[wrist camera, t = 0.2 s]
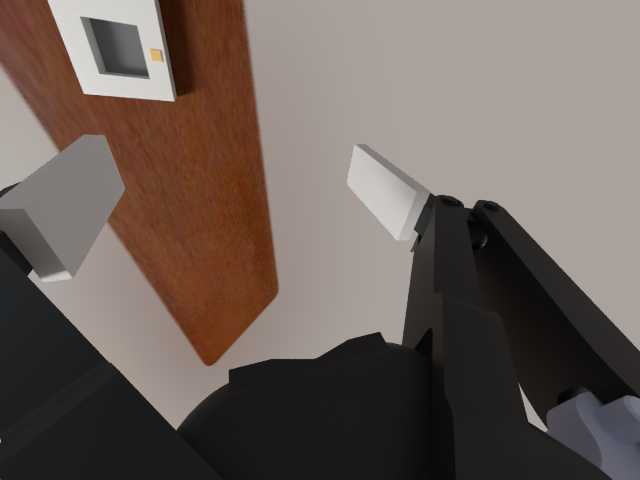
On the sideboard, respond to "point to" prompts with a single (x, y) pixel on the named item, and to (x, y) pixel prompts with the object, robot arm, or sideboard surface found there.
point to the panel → (117, 47)
